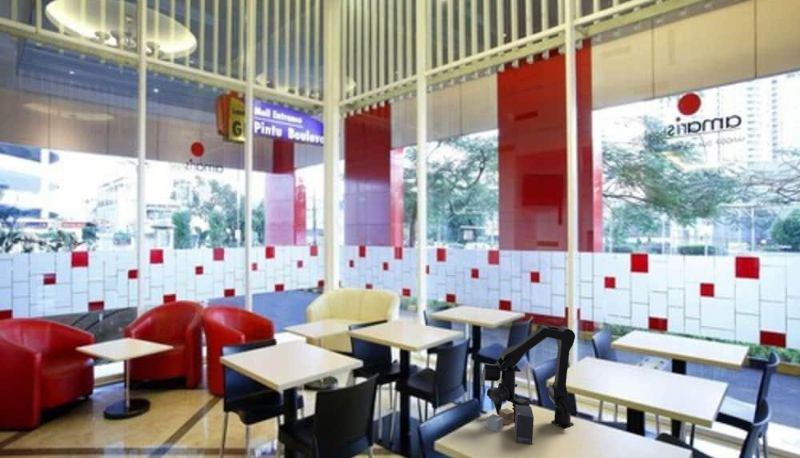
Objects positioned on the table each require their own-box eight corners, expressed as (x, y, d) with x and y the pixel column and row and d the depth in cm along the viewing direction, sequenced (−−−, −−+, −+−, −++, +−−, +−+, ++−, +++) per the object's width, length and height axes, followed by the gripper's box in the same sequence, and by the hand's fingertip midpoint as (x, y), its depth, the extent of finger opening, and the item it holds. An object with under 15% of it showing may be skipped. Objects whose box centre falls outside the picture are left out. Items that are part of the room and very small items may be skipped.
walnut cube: (506, 418, 186) (506, 408, 186) (514, 422, 183) (514, 411, 183) (498, 421, 184) (499, 410, 184) (507, 425, 180) (507, 414, 180)
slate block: (492, 425, 180) (492, 414, 180) (502, 428, 177) (503, 417, 177) (486, 428, 176) (487, 417, 176) (497, 432, 173) (497, 420, 173)
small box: (533, 445, 164) (534, 416, 164) (515, 442, 165) (516, 414, 165) (530, 432, 174) (531, 405, 174) (513, 430, 175) (514, 403, 175)
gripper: (478, 377, 186) (476, 414, 186) (512, 391, 171) (510, 432, 171) (496, 373, 193) (495, 409, 193) (531, 387, 177) (529, 426, 177)
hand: (506, 419), depth 183 cm, fingers open, 9 cm apart
